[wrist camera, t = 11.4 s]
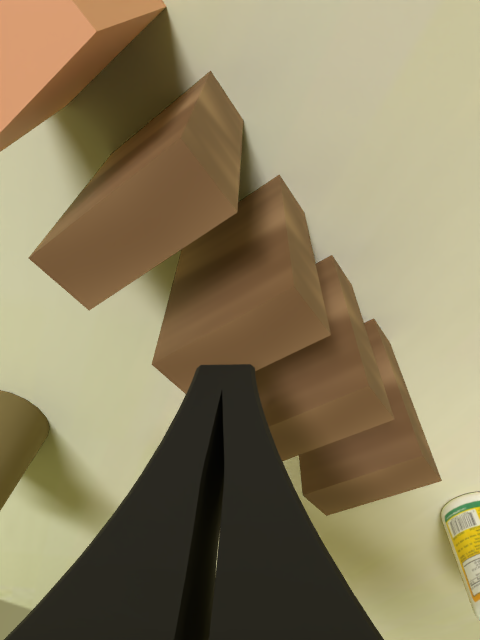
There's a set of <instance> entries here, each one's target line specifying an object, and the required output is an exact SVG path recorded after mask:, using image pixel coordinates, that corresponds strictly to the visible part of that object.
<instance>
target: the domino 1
mask: <svg viewBox="0 0 480 640" xmlns="http://www.w3.org/2000/svg"><path fill="white" fill-rule="evenodd" d="M164 8H166V5H165V4H164V2H163V1H162V0H0V152H1V151H2V150H3V149H5V148H6V147H8V146H9V145H11V144H12V143H14V142H15V141H16V140H18V139H19V138H21V137H22V136H24V135H25V134H26V133H28V132H29V131H31V130H32V129H34V128H35V127H36V126H38V125H39V124H41V123H42V122H44V121H45V120H47V119H48V118H49V117H51V116H52V115H54V114H55V113H57V112H58V111H59V110H61V109H62V108H64V107H65V106H67V105H68V104H69V103H70V102H71V101H72V100H73V99H74V98H75V97H76V96H77V95H78V94H79V93H80V92H81V91H82V90H83V89H84V88H85V87H86V86H87V85H88V84H89V83H90V82H91V81H92V80H93V79H94V78H95V77H96V76H97V75H98V74H99V73H100V72H101V71H102V70H103V69H104V68H105V67H106V66H107V65H108V64H109V63H110V62H111V61H112V60H113V59H114V58H115V57H116V56H117V55H118V54H119V53H120V52H121V51H122V50H123V49H124V48H125V47H126V46H127V45H128V44H129V43H130V42H131V41H132V40H133V39H134V38H135V37H136V36H137V35H138V34H139V33H140V32H141V31H142V30H143V29H144V28H145V27H146V26H147V25H148V24H149V23H150V22H151V21H152V20H153V19H154V18H155V17H156V16H157V15H158V14H159V13H160V12H161V11H162V10H163V9H164Z"/></svg>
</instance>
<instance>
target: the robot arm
mask: <svg viewBox="0 0 480 640" xmlns="http://www.w3.org/2000/svg"><path fill="white" fill-rule="evenodd" d="M220 525H221V526H220ZM219 533H220V536H219ZM218 541H219V547H218ZM217 549H218V557H217ZM216 560H217V568H216ZM215 576H216V578H215ZM4 640H384V639H383V638H382V636H381V635H380V633H379V632H378V630H377V629H376V627H375V626H374V624H373V623H372V621H371V620H370V618H369V617H368V615H367V614H366V612H365V610H364V609H363V607H362V606H361V604H360V603H359V601H358V600H357V598H356V597H355V595H354V594H353V592H352V590H351V589H350V587H349V585H348V584H347V582H346V580H345V579H344V577H343V575H342V574H341V572H340V570H339V569H338V567H337V566H336V564H335V562H334V561H333V559H332V557H331V556H330V554H329V552H328V551H327V549H326V547H325V546H324V544H323V542H322V540H321V538H320V537H319V535H318V533H317V531H316V529H315V527H314V526H313V524H312V522H311V520H310V518H309V516H308V515H307V513H306V511H305V509H304V507H303V505H302V503H301V501H300V499H299V497H298V495H297V493H296V491H295V489H294V487H293V484H292V482H291V480H290V478H289V476H288V474H287V471H286V469H285V467H284V464H283V462H282V460H281V458H280V455H279V453H278V450H277V448H276V445H275V443H274V440H273V437H272V434H271V432H270V429H269V426H268V423H267V421H266V418H265V414H264V411H263V408H262V404H261V401H260V397H259V393H258V388H257V383H256V376H255V367H253V366H252V365H251V364H233V365H200V366H199V367H198V368H197V369H196V371H195V374H194V377H193V379H192V382H191V384H190V387H189V389H188V391H187V393H186V396H185V398H184V400H183V402H182V404H181V406H180V408H179V410H178V412H177V414H176V416H175V418H174V419H173V421H172V423H171V425H170V427H169V429H168V431H167V432H166V434H165V436H164V438H163V440H162V441H161V443H160V445H159V446H158V448H157V450H156V451H155V453H154V454H153V456H152V458H151V459H150V461H149V463H148V464H147V466H146V467H145V469H144V471H143V472H142V474H141V475H140V477H139V478H138V480H137V481H136V483H135V484H134V486H133V487H132V489H131V490H130V492H129V493H128V495H127V496H126V497H125V499H124V500H123V502H122V503H121V504H120V506H119V507H118V508H117V510H116V511H115V513H114V514H113V515H112V517H111V518H110V519H109V520H108V522H107V523H106V524H105V526H104V527H103V528H102V529H101V531H100V532H99V533H98V535H97V536H96V537H95V538H94V540H93V541H92V542H91V544H90V545H89V546H88V547H87V548H86V550H85V551H84V552H83V553H82V555H81V556H80V557H79V558H78V559H77V561H76V562H75V563H74V564H73V565H72V566H71V567H70V569H69V570H68V571H67V572H66V573H65V574H64V575H63V576H62V578H61V579H60V580H59V581H58V582H57V583H56V584H55V585H54V587H53V588H52V589H51V590H50V591H49V592H48V593H47V595H46V596H45V597H44V598H43V599H42V600H41V601H40V602H39V604H38V605H37V606H36V607H35V608H34V609H33V610H32V611H31V612H30V613H29V614H28V616H27V617H26V618H25V619H24V620H23V621H22V622H21V623H20V624H19V625H18V626H17V627H16V628H15V629H14V630H13V631H12V632H11V633H10V634H9V635H8V636H7V637H6V638H5V639H4Z"/></svg>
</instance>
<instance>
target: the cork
mask: <svg viewBox="0 0 480 640" xmlns="http://www.w3.org/2000/svg"><path fill="white" fill-rule="evenodd" d="M48 433H49V424H48V421H47V419H46V417H45V416H44V414H43V413H42V412H41V411H40V410H39V409H38V408H37V407H36V406H34V405H33V404H31V403H30V402H29V401H27V400H26V399H23V398H21V397H19V396H17V395H14V394H12V393H9V392H5V391H1V390H0V510H1V509H2V507H3V506H4V504H5V502H6V501H7V499H8V498H9V496H10V495H11V493H12V491H13V490H14V488H15V487H16V485H17V483H18V482H19V480H20V479H21V477H22V476H23V474H24V472H25V471H26V469H27V468H28V466H29V464H30V463H31V461H32V460H33V458H34V457H35V455H36V453H37V452H38V450H39V449H40V447H41V445H42V444H43V442H44V441H45V439H46V438H47V436H48Z"/></svg>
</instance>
